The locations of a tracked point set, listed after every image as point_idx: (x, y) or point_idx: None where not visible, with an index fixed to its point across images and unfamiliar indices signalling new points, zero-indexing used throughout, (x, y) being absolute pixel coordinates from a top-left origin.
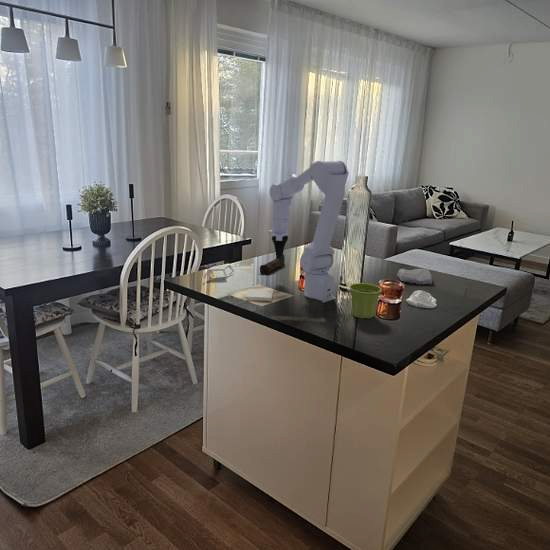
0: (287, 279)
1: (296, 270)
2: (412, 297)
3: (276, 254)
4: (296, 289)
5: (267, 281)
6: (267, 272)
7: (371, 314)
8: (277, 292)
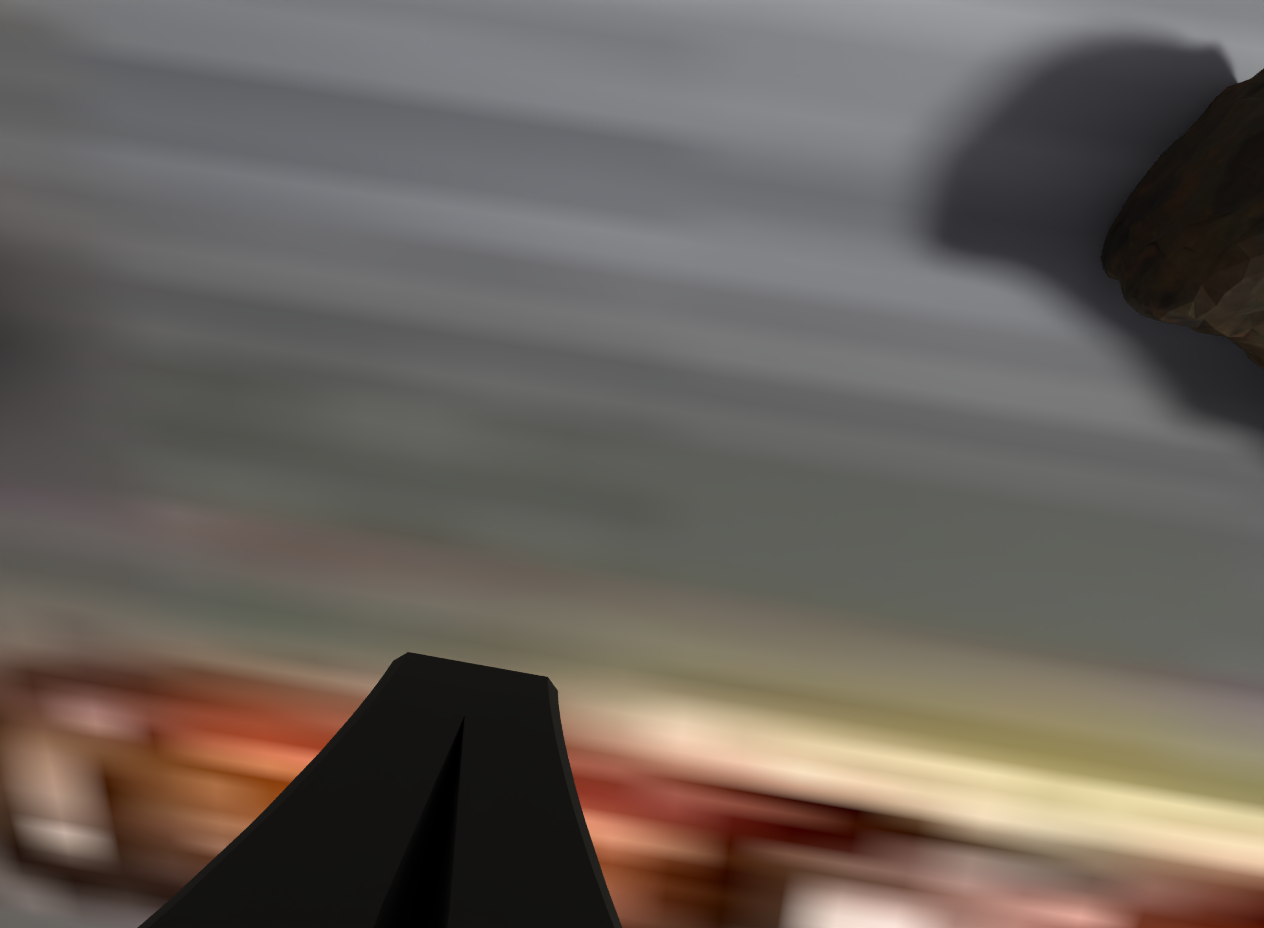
0: (695, 580)
1: (1246, 817)
2: None
3: (363, 714)
4: (75, 623)
5: (579, 156)
6: (1120, 244)
7: None
8: None
